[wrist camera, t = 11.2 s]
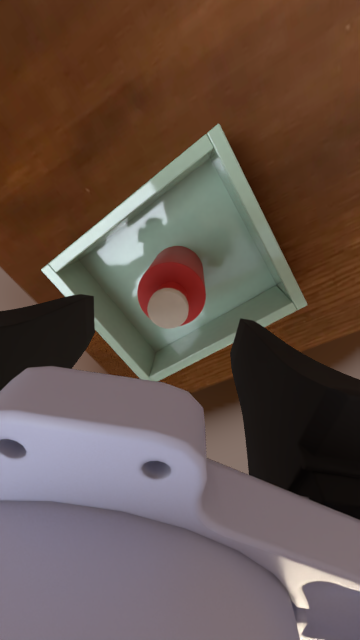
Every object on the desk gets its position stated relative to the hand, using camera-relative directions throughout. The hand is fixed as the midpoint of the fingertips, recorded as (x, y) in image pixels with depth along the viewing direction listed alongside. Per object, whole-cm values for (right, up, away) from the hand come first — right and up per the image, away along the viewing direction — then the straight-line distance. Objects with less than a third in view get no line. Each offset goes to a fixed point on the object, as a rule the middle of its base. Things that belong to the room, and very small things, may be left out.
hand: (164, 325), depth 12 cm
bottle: (+1, +4, +9) cm, 10 cm away
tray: (+1, +5, +9) cm, 10 cm away
